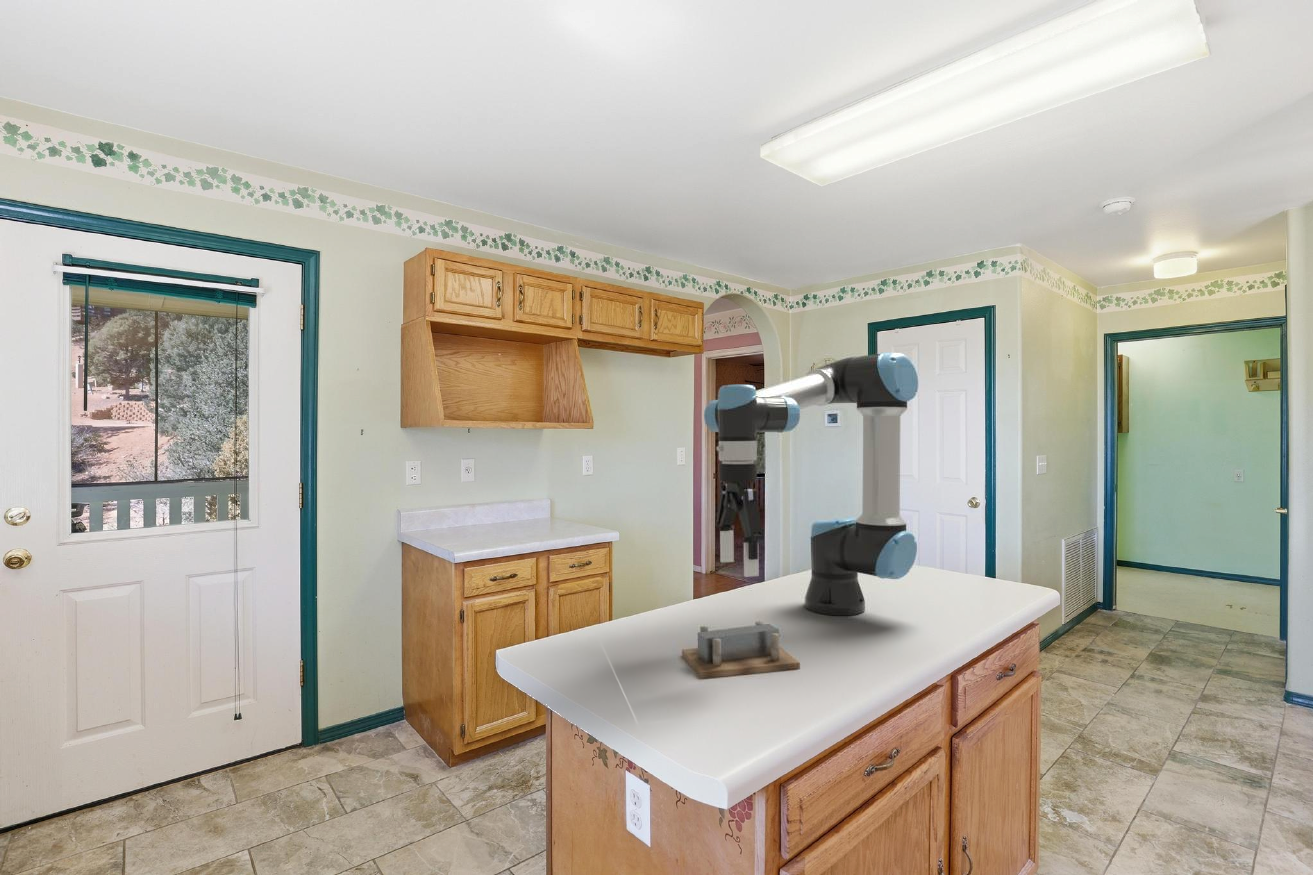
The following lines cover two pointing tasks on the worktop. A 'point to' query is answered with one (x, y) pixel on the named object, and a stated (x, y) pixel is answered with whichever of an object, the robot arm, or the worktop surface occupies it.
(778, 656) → the peg rack
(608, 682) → the worktop surface
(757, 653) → the steel bar
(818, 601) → the robot arm
